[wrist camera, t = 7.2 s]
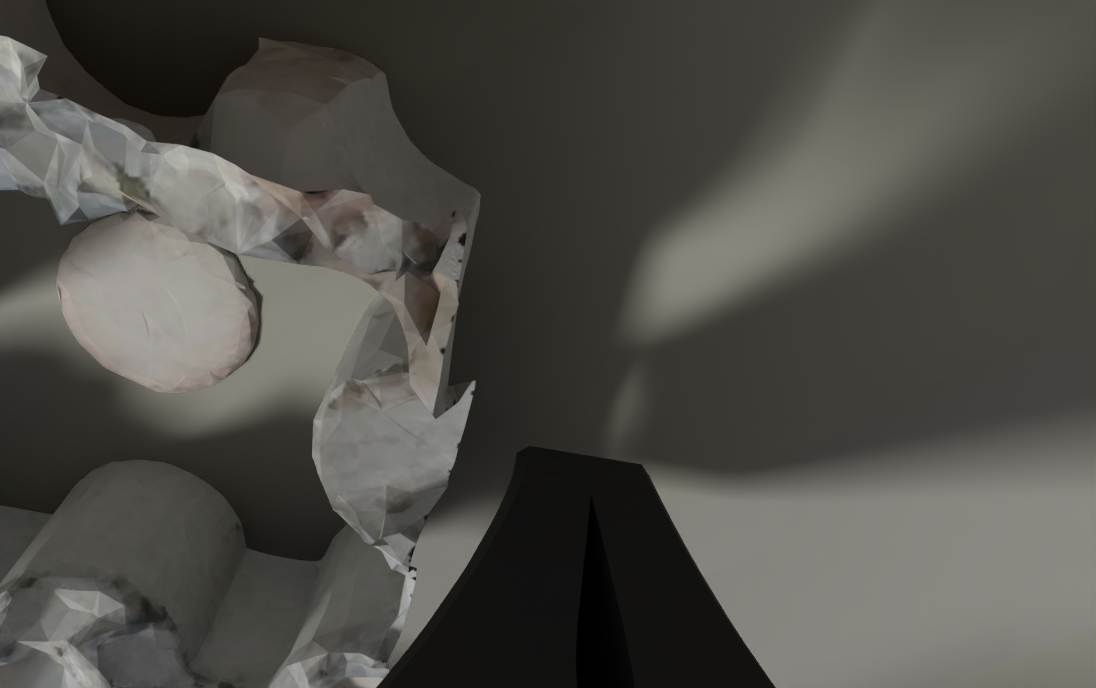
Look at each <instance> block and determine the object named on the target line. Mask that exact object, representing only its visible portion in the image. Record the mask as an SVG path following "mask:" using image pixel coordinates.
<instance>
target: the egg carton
mask: <svg viewBox="0 0 1096 688" xmlns="http://www.w3.org/2000/svg"><path fill="white" fill-rule="evenodd" d="M0 190H20V191H22V192H24V193H25V194H27V195H30V196H35V197H39V198H44V199H48V201H49V203H50V205H51V207H52V210H53V212H54V214H55V216H56V218H57V220H58V222H59V224H60V225H66V224H71V223H77V222H82V221H88V220H92V219H95V218H99V217H102V216H106V215H110V214H113V213H115V214H113V215H110V216H108V217H106V218H103V219H101V220H99V221H96V222H94V223H92V224H90V225H89V226H88V227H87V228H85V229H84V230H83V231H82V232H81V233H79V234H78V235H77V236H75V237H73V239H72V241H71V243H70V245H69V246H68V248H67V249H66V251H65V252H64V254H63V256H62V258H61V260H60V263H59V269H58V274H57V280H56V287H57V291H58V296H59V300H60V304H61V309H62V313H63V315H64V317H65V319H66V322H67V324H68V326H69V328H70V331H71V332H72V334H73V335H74V337H75V338H76V339H77V341H78V342H79V343H80V345H81V346H82V347H83V348H85V349H86V350H87V351H88V352H89V353H90V354H91V355H92V356H93V357H94V358H95V359H96V360H97V361H98V362H99V363H100V364H101V365H102V366H103V367H104V368H106V369H108V370H110V371H112V372H115V373H117V374H119V375H121V376H123V377H125V378H127V379H129V380H132V381H134V382H136V383H138V384H141V385H143V386H145V387H147V388H150V389H152V390H154V391H156V392H168V393H184V392H188V391H193V390H197V389H202V388H206V387H210V386H213V385H214V384H216V383H217V382H219V381H221V380H222V379H224V378H225V377H227V376H228V375H229V374H230V373H232V372H233V371H234V370H236V369H237V368H238V367H240V366H241V365H242V364H243V363H244V362H245V360H246V359H247V357H248V356H249V354H250V353H251V351H252V350H253V348H254V345H255V341H256V336H257V332H258V327H259V317H258V307H257V301H256V297H255V295H254V292H253V291H252V290H251V289H250V288H249V284H248V280H247V278H246V276H245V275H244V273H243V271H242V269H241V267H240V265H239V264H238V262H237V260H236V258H235V257H234V256H233V255H232V254H230V253H229V252H228V251H226V250H229V251H231V252H233V253H235V254H238V255H244V256H251V257H257V258H263V259H269V260H276V261H282V262H288V263H295V264H302V265H311V266H321V267H328V268H331V269H334V270H338V271H341V272H344V273H346V274H349V275H352V276H355V277H357V278H359V279H361V280H363V281H364V282H366V283H368V284H369V285H371V286H372V287H373V288H374V289H376V290H377V291H378V292H379V293H381V295H380V296H379V297H378V298H377V299H375V300H374V301H373V302H372V303H371V304H370V305H369V306H368V308H367V309H366V310H365V311H364V313H363V315H362V317H361V319H360V321H359V323H358V325H357V327H356V329H355V331H354V333H353V335H352V337H351V339H350V341H349V343H348V345H347V347H346V349H345V352H344V354H343V357H342V359H341V361H340V364H339V366H338V368H337V370H336V372H335V375H334V377H333V379H332V381H331V383H330V385H329V388H328V390H327V392H326V394H325V396H324V398H323V401H322V403H321V405H320V407H319V409H318V411H317V413H316V416H315V418H314V420H313V440H312V457H313V460H314V463H315V465H316V468H317V473H318V475H319V478H320V480H321V482H322V484H323V487H324V489H325V492H326V494H327V497H328V499H329V502H330V504H331V506H332V509H333V510H334V511H335V512H337V513H338V514H339V515H340V516H341V517H342V518H343V519H344V520H345V521H346V522H347V523H348V524H346V525H345V526H344V527H343V528H342V529H341V530H340V531H339V532H338V533H337V534H336V535H335V537H334V538H333V540H332V542H331V544H330V546H329V548H328V550H327V552H326V554H325V555H324V556H323V557H322V559H321V560H319V561H303V560H296V559H290V558H284V557H278V556H273V555H269V554H265V553H261V552H258V551H255V550H252V549H249V548H246V542H245V537H244V532H243V527H242V523H241V521H240V519H239V518H238V516H237V514H236V513H235V511H234V510H233V508H232V507H231V505H230V504H229V503H228V501H227V500H226V499H225V498H224V497H223V495H222V494H221V493H220V492H218V491H217V490H216V489H214V488H213V487H212V486H211V485H210V484H208V483H207V482H205V481H203V480H202V479H200V478H198V477H197V476H195V475H193V474H191V473H189V472H187V471H185V470H182V469H180V468H178V467H176V466H173V465H170V464H168V463H165V462H157V461H147V460H140V459H139V460H131V461H119V462H110V463H108V464H106V465H103V466H101V467H99V468H96V469H94V470H92V471H91V472H89V473H88V474H87V475H86V476H85V477H84V478H83V479H81V480H80V481H79V482H78V483H77V484H76V485H75V486H74V487H73V489H72V490H71V491H70V493H69V494H68V495H67V497H66V498H65V499H64V501H63V502H62V503H61V505H60V506H59V507H58V509H57V510H56V511H55V513H54V514H45V513H39V512H34V511H29V510H24V509H19V508H13V507H7V506H2V505H0V688H376V687H377V686H378V685H379V684H380V682H381V681H382V680H383V679H384V678H385V676H386V675H387V674H388V673H389V669H386V664H387V661H388V659H389V657H390V655H391V653H392V651H393V649H394V647H395V645H396V643H397V641H398V639H399V637H400V634H401V631H402V628H403V625H404V622H405V619H406V615H407V612H408V609H409V606H410V602H411V598H412V594H413V590H414V586H415V581H416V570H417V568H415V567H411V566H409V565H410V562H411V558H412V555H413V552H414V548H415V545H416V542H417V540H418V538H419V535H420V533H421V531H422V528H423V526H424V524H425V521H426V519H427V516H428V514H429V513H430V511H431V510H432V508H433V507H434V505H435V504H436V503H437V501H438V500H439V498H440V497H441V496H442V494H443V493H444V491H445V490H446V488H447V487H448V479H449V474H450V472H451V470H452V467H453V465H454V463H455V459H456V455H457V451H458V448H459V444H460V441H461V438H462V435H463V432H464V428H465V424H466V421H467V417H468V413H469V409H470V405H471V401H472V397H473V394H474V390H475V382H476V380H475V381H470V382H466V383H461V384H456V385H450V386H448V380H449V372H450V364H451V356H452V348H453V340H454V332H455V324H456V316H457V308H458V304H459V295H460V291H461V287H462V282H463V278H464V274H465V269H466V265H467V262H468V259H469V255H470V251H471V247H472V241H473V236H474V230H475V226H476V222H477V219H478V215H479V209H480V199H481V194H480V193H479V192H478V191H477V190H476V189H475V188H474V187H472V186H470V185H468V184H466V183H464V182H462V181H460V180H459V179H457V178H456V177H454V176H452V175H451V174H449V173H448V172H446V171H445V170H443V169H442V168H440V167H439V166H437V165H435V164H434V163H432V162H431V161H430V160H428V159H427V158H426V157H425V156H424V155H423V154H422V153H421V151H420V150H419V149H418V148H417V147H416V146H415V145H414V144H413V143H412V142H411V141H410V140H409V138H408V137H407V135H406V133H405V131H404V129H403V128H402V126H401V124H400V122H399V120H398V119H397V117H396V115H395V113H394V111H393V108H392V105H391V100H390V95H389V89H388V84H387V79H386V75H385V73H384V72H383V71H382V70H381V69H379V68H377V67H376V66H375V65H374V64H372V63H371V62H370V61H367V60H365V59H363V58H361V57H359V56H358V55H356V54H352V53H349V52H346V51H342V50H339V49H335V48H329V47H323V46H316V45H310V44H303V43H297V42H292V41H285V42H281V41H276V40H271V39H266V38H260V37H259V50H258V51H257V52H256V53H255V54H254V56H253V57H252V58H251V59H250V60H249V62H248V63H247V64H246V65H244V66H241V67H238V68H237V69H236V70H234V71H233V72H232V73H231V74H229V75H228V76H227V78H226V80H225V82H224V83H223V85H222V87H221V89H220V90H219V92H218V94H217V96H216V97H215V99H214V101H213V102H212V104H211V106H210V108H209V109H208V111H207V113H206V114H205V115H200V116H191V117H188V118H183V117H166V116H158V115H154V114H151V113H148V112H146V111H143V110H140V109H137V108H135V107H132V106H129V105H127V104H125V103H124V102H123V101H121V100H120V99H119V98H117V97H116V96H115V95H113V94H112V93H111V92H109V91H108V90H107V89H105V88H104V87H103V86H102V85H101V84H100V83H99V82H97V81H96V80H95V79H94V78H93V77H92V76H90V75H89V74H88V73H87V72H86V71H85V70H84V69H83V67H82V66H81V65H80V64H79V63H78V61H77V60H76V59H75V58H74V57H73V55H72V54H71V53H70V52H69V51H68V49H67V48H66V47H65V45H64V44H63V42H62V40H61V38H60V35H59V33H58V31H57V29H56V26H55V24H54V22H53V20H52V18H51V15H50V13H49V11H48V8H47V4H46V0H0ZM139 204H140V205H142V206H144V207H146V208H147V209H149V210H151V211H153V212H154V213H156V214H146V215H144V214H142V213H140V212H139V211H137V210H136V211H135V212H133V213H131V214H129V215H128V214H125V213H121V212H120V211H129V210H131V209H133V208H135V207H136V206H138V205H139ZM117 212H119V213H117ZM225 249H226V250H225Z"/></svg>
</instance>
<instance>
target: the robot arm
mask: <svg viewBox="0 0 1096 688" xmlns="http://www.w3.org/2000/svg"><path fill="white" fill-rule="evenodd" d="M376 688H775V686H774V685H773V683H772V682H771V681H770V679H769V678H768V676H767V675H766V673H765V672H764V670H763V669H762V668H761V666H760V665H759V663H758V662H757V660H756V659H755V657H754V656H753V655H752V653H751V652H750V650H749V649H748V647H747V646H746V644H745V643H744V641H743V640H742V638H741V637H740V635H739V634H738V632H737V631H736V629H735V628H734V626H733V624H732V623H731V621H730V620H729V618H728V617H727V615H726V613H725V612H724V610H723V609H722V607H721V605H720V604H719V602H718V600H717V599H716V597H715V595H714V594H713V592H712V590H711V589H710V587H709V586H708V584H707V582H706V581H705V579H704V577H703V576H702V574H701V572H700V571H699V569H698V567H697V565H696V564H695V562H694V560H693V558H692V557H691V555H690V553H689V551H688V550H687V548H686V546H685V544H684V542H683V540H682V539H681V537H680V535H679V533H678V531H677V529H676V528H675V526H674V524H673V522H672V520H671V518H670V516H669V514H668V512H667V510H666V509H665V507H664V505H663V503H662V501H661V499H660V497H659V495H658V493H657V491H656V489H655V487H654V485H653V483H652V481H651V479H650V477H649V475H648V473H647V472H646V470H645V469H644V468H643V466H642V465H641V464H635V463H629V462H623V461H617V460H611V459H605V458H599V457H593V456H586V455H580V454H574V453H568V452H562V451H556V450H550V449H544V448H538V447H532V446H529V447H527V448H525V449H523V450H522V451H520V452H518V453H517V455H516V460H515V465H514V471H513V475H512V478H511V481H510V484H509V487H508V489H507V491H506V494H505V496H504V499H503V501H502V503H501V505H500V507H499V509H498V511H497V513H496V515H495V517H494V519H493V521H492V523H491V525H490V527H489V528H488V530H487V532H486V534H485V535H484V537H483V539H482V541H481V542H480V544H479V546H478V548H477V549H476V551H475V553H474V555H473V556H472V558H471V560H470V562H469V563H468V565H467V566H466V568H465V570H464V571H463V573H462V574H461V576H460V577H459V579H458V580H457V582H456V583H455V585H454V586H453V587H452V589H451V590H450V592H449V593H448V595H447V596H446V598H445V599H444V600H443V602H442V603H441V605H440V606H439V608H438V609H437V611H436V612H435V613H434V615H433V616H432V618H431V619H430V621H429V622H428V624H427V625H426V626H425V628H424V629H423V630H422V632H421V633H420V634H419V635H418V637H417V638H416V639H415V641H414V642H413V643H412V645H411V646H410V647H409V648H408V650H407V651H406V652H405V653H404V655H403V656H402V657H401V658H400V660H399V661H398V662H397V663H396V665H395V666H394V667H393V668H392V669H391V671H390V672H389V673H388V674H387V675H386V676H385V678H384V679H383V680H382V681H381V682H380V684H379V685H378V686H377V687H376Z"/></svg>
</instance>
